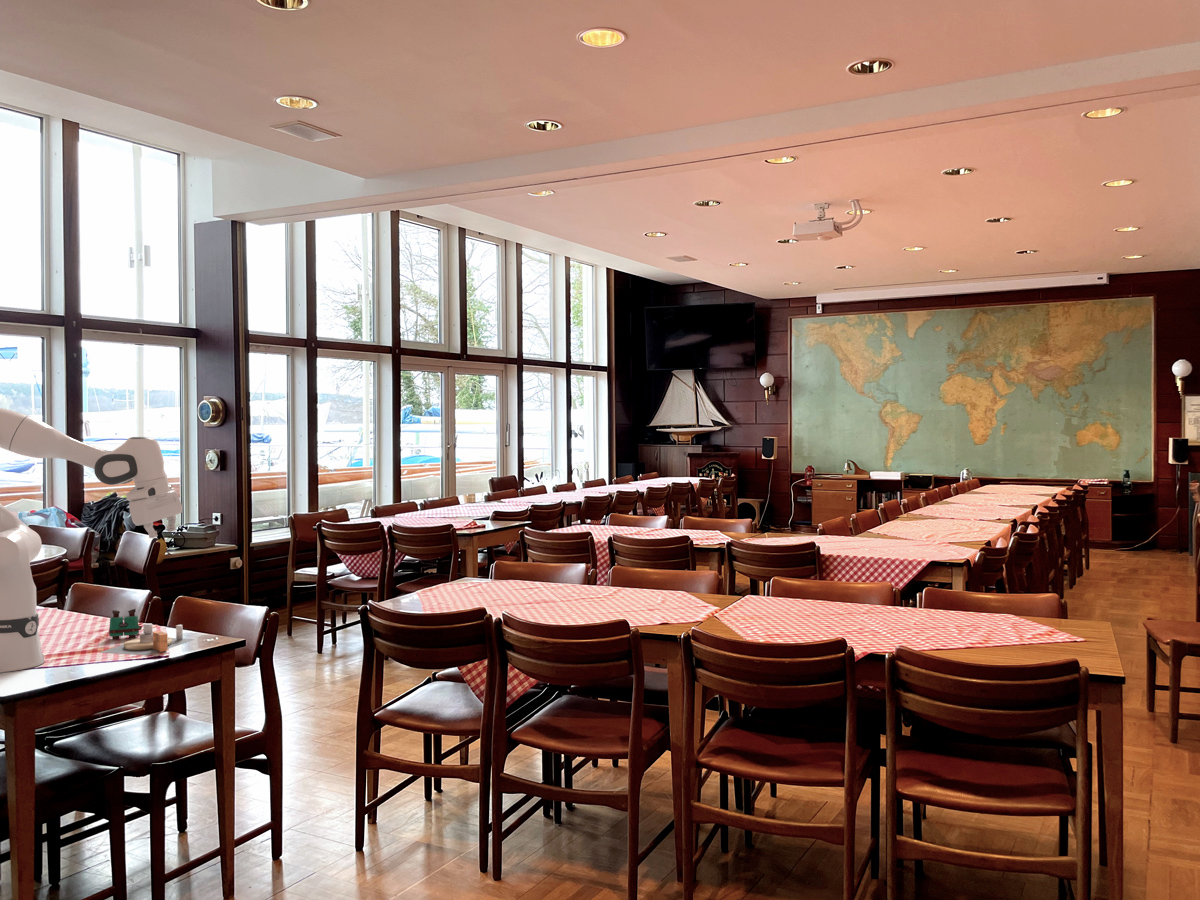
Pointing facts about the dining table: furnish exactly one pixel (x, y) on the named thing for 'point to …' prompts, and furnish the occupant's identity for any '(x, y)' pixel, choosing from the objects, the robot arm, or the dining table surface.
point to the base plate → (147, 630)
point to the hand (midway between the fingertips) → (163, 534)
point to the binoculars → (124, 625)
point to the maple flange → (150, 642)
